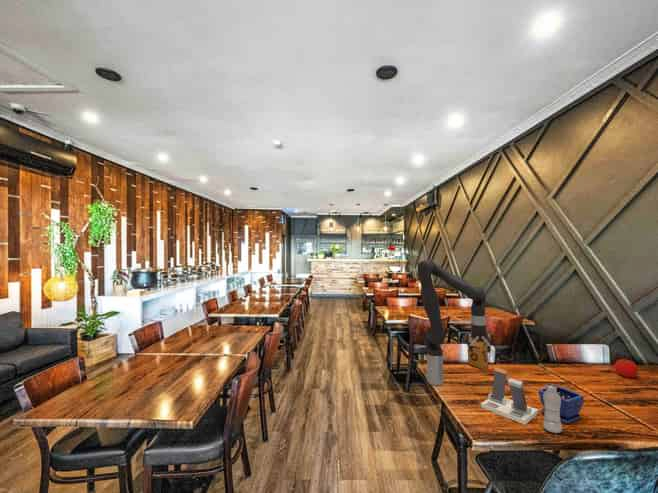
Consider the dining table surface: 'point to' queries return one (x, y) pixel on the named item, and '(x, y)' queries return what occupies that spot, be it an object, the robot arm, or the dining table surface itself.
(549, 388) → the plastic bottle
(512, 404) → the switch unit
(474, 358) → the coffee package
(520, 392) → the lever grey
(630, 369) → the tomato
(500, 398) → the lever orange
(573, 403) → the flower pot
